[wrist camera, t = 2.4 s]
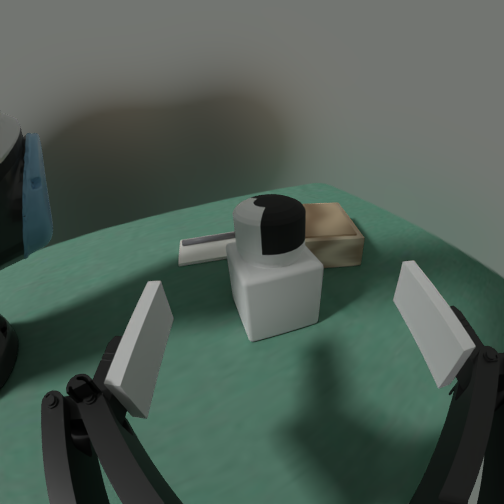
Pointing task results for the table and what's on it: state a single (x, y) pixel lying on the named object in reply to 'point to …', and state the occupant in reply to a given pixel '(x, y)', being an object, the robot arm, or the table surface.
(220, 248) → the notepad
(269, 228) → the medicine bottle
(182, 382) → the table surface
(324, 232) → the beech tray
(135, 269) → the table surface
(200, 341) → the table surface
